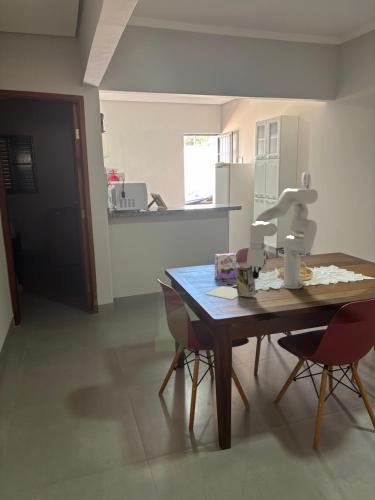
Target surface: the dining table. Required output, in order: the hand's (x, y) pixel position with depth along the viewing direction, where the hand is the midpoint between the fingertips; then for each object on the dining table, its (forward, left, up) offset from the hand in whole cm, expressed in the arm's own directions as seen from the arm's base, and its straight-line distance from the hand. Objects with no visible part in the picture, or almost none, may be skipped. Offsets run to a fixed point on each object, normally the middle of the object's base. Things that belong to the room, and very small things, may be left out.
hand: (255, 278), depth 208 cm
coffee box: (+6, -1, -11) cm, 13 cm away
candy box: (+36, -27, -12) cm, 46 cm away
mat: (+19, 0, -12) cm, 22 cm away
